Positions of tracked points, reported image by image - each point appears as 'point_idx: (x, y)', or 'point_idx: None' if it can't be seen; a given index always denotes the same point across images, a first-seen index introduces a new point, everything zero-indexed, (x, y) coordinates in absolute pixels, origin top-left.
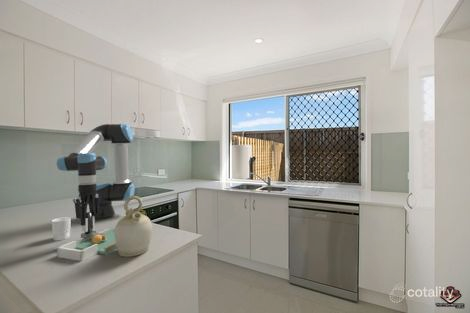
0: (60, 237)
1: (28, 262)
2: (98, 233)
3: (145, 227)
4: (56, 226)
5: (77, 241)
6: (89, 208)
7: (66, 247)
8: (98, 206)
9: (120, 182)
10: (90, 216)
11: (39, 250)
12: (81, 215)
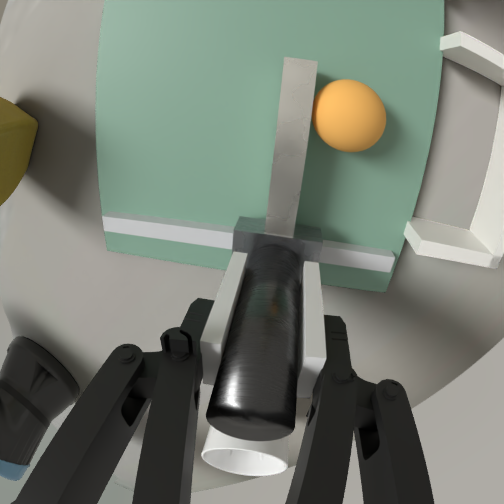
0: None
1: (490, 309)
2: (279, 164)
3: None
4: (287, 440)
5: (359, 261)
6: (192, 465)
7: (464, 241)
8: (82, 419)
9: None
10: (260, 359)
11: (390, 364)
12: (390, 414)
